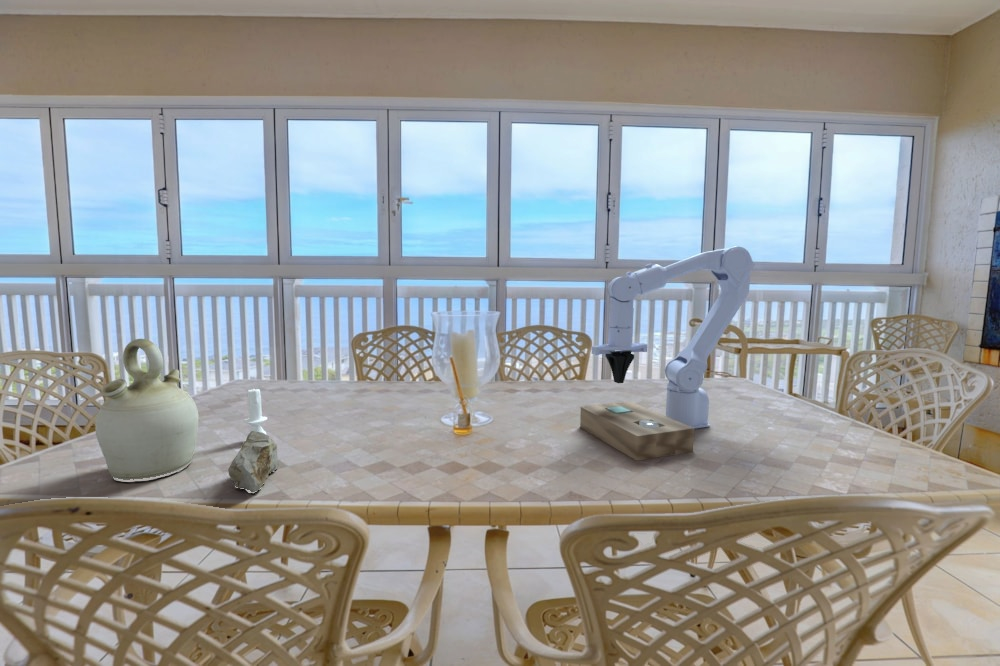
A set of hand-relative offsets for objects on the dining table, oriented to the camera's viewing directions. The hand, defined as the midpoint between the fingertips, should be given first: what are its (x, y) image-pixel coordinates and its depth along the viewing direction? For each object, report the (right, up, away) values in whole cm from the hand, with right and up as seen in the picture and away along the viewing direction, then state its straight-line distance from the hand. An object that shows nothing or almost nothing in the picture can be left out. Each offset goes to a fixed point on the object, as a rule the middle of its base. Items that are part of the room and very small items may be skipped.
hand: (618, 382), depth 114 cm
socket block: (+1, -12, -9) cm, 15 cm away
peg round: (+3, -12, -14) cm, 19 cm away
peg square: (-1, -11, -4) cm, 12 cm away
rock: (-73, -15, -31) cm, 81 cm away
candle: (-83, -12, -10) cm, 84 cm away
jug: (-94, -14, -25) cm, 99 cm away
